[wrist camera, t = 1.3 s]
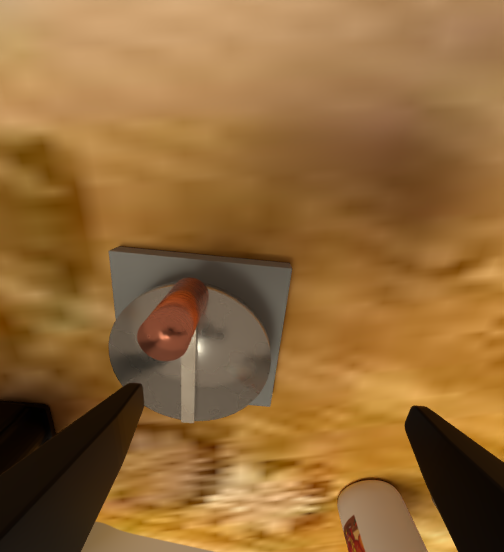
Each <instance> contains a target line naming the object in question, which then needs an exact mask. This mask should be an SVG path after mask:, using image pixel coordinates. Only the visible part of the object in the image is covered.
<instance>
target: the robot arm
mask: <svg viewBox="0 0 504 552" xmlns="http://www.w3.org/2000/svg"><path fill="white" fill-rule="evenodd" d="M143 407H144V394H143V385H142V384H141V383H132V382H130V383H128V384H126V385H125V386H123V387H122V388H120V389H119V390H118V391H116V392H115V393H114V394H112V395H111V396H109V397H108V398H107V399H105V400H104V401H102V402H101V403H100V404H98V405H97V406H95V407H94V408H93V409H91V410H90V411H89V412H87V413H86V414H84V415H83V416H82V417H80V418H79V419H77V420H76V421H75V422H73V423H72V424H70V425H69V426H68V427H66V428H65V429H64V430H62V431H61V432H59V433H58V434H57V435H56V434H55V430H54V426H53V422H52V417H51V413H50V409H49V407H48V406H47V405H44V404H32V403H20V402H9V401H0V552H81V550H82V548H83V546H84V544H85V542H86V540H87V537H88V535H89V533H90V531H91V529H92V527H93V525H94V523H95V521H96V519H97V517H98V514H99V512H100V510H101V508H102V506H103V504H104V502H105V500H106V498H107V496H108V493H109V491H110V489H111V487H112V485H113V483H114V481H115V479H116V477H117V475H118V472H119V470H120V468H121V466H122V464H123V462H124V459H125V457H126V454H127V451H128V449H129V446H130V443H131V441H132V438H133V435H134V432H135V430H136V427H137V424H138V422H139V419H140V416H141V413H142V411H143ZM405 431H406V434H407V436H408V439H409V441H410V444H411V447H412V449H413V452H414V454H415V457H416V460H417V462H418V465H419V467H420V470H421V473H422V475H423V478H424V480H425V482H426V485H427V487H428V489H429V491H430V494H431V496H432V498H433V500H434V502H435V504H436V506H437V508H438V510H439V512H440V515H441V517H442V519H443V521H444V523H445V525H446V527H447V529H448V531H449V533H450V535H451V538H452V540H453V542H454V544H455V546H456V548H457V550H458V552H504V462H502V461H501V460H500V459H498V458H497V457H495V456H494V455H493V454H491V453H490V452H488V451H487V450H486V449H484V448H483V447H482V446H480V445H479V444H477V443H476V442H475V441H473V440H472V439H471V438H469V437H468V436H466V435H465V434H464V433H462V432H461V431H459V430H458V429H457V428H455V427H454V426H453V425H451V424H450V423H448V422H447V421H446V420H444V419H443V418H442V417H440V416H439V415H437V414H436V413H435V412H433V411H432V410H430V409H429V408H427V407H425V406H412V407H411V409H410V411H409V414H408V416H407V419H406V421H405Z"/></svg>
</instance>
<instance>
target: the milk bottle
mask: <svg viewBox="0 0 504 552" xmlns="http://www.w3.org/2000/svg"><path fill="white" fill-rule="evenodd" d="M338 511H339V515H340V519H341V523H342V527H343V531H344V535H345V539H346V543H347V547H348V551H349V552H428V551H427V549H426V547H425V545H424V542H423V540H422V538H421V536H420V534H419V532H418V530H417V528H416V526H415V523H414V521H413V519H412V517H411V515H410V513H409V511H408V509H407V507H406V505H405V503H404V501H403V499H402V497H401V495H400V493H399V492H398V491H397V490H396V488H395V487H394V486H392V485H391V484H389V483H387V482H384V481H380V480H365V481H360V482H356V483H354V484H352V485H350V486H348V487H346V488H345V489H344V490H343V491H342V492H341V494H340V495H339V498H338Z"/></svg>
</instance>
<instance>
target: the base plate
mask: <svg viewBox="0 0 504 552" xmlns="http://www.w3.org/2000/svg"><path fill="white" fill-rule="evenodd" d="M109 258H110V268H111V278H112V287H113V297H114V307H115V316H116V319H117V318H118V316H119V315H120V314H121V312H122V311H123V310H124V309H125V308H126V307H127V306H128V305H129V304H130V303H131V302H132V301H133V300H134V299H135V298H137V297H138V296H140V295H141V294H142V293H144V292H146V291H147V290H149V289H151V288H153V287H156V286H159V285H162V284H166V283H170V282H178V281H179V280H181V279H183V278H187V277H191V278H196V279H198V280H200V281H201V282H203V283H207V284H211V285H214V286H217V287H220V288H222V289H225V290H227V291H229V292H231V293H232V294H234V295H236V296H237V297H239V298H240V299H242V300H243V301H244V302H246V303H247V304H248V305H249V306H250V307H251V308H252V309H253V310H254V312H255V313H256V314H257V315H258V317H259V318H260V320H261V322H262V323H263V325H264V327H265V330H266V332H267V335H268V339H269V343H270V354H271V367H270V372H269V376H268V379H267V381H266V384H265V386H264V387H263V389H262V391H261V392H260V393H259V395H258V396H257V397H256V398H255V399H254V400H253V401H252V402H251V403H250V404H249V405H257V406H269V407H270V404H271V398H272V392H273V386H274V379H275V373H276V367H277V361H278V354H279V348H280V342H281V336H282V329H283V323H284V317H285V311H286V304H287V298H288V292H289V286H290V279H291V273H292V267H291V265H290V263H284V262H274V261H264V260H254V259H243V258H233V257H223V256H212V255H202V254H192V253H181V252H171V251H161V250H151V249H140V248H130V247H120V246H119V247H117V248H114V249H112V250H110V251H109Z"/></svg>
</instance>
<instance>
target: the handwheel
mask: <svg viewBox="0 0 504 552" xmlns="http://www.w3.org/2000/svg"><path fill="white" fill-rule="evenodd" d="M109 356H110V361H111V365H112V368H113V370H114V373H115V374H116V376H117V378H118V380H119V381H120V383H121V384H122V386H125V385H126V384H128V383H130V382H132V383H141V384H142V385H143V394H144V406H146V407H148V408H149V409H151V410H153V411H155V412H158V413H160V414H162V415H165V416H168V417H172V418H176V419H180V420H181V422H184V423H194V421H207V420H214V419H219V418H223V417H226V416H229V415H231V414H234V413H236V412H238V411H240V410H241V409H243V408H244V407H246V406H247V405H249V404H250V403H251V402H252V401H253V400H254V399H255V398H256V397H257V396H258V395H259V393H260V392H261V391H262V389H263V387H264V386H265V384H266V381H267V379H268V376H269V372H270V367H271V354H270V343H269V339H268V335H267V332H266V330H265V327H264V325H263V323H262V322H261V320H260V318H259V317H258V315H257V314H256V313H255V312H254V310H253V309H252V308H251V307H250V306H249V305H248V304H247V303H246V302H244V301H243V300H242V299H240V298H239V297H237V296H236V295H234V294H232V293H231V292H229V291H227V290H225V289H222V288H220V287H217V286H214V285H211V284H207V283H203V282H201V281H200V280H198V279H196V278H191V277H187V278H183V279H181V280H179V281H178V282H170V283H166V284H162V285H159V286H156V287H153V288H151V289H149V290H147V291H146V292H144V293H142V294H141V295H140V296H138V297H137V298H135V299H134V300H133V301H132V302H131V303H130V304H129V305H128V306H127V307H126V308H125V309H124V310H123V311H122V312H121V314H120V315H119V316H118V318H117V319H116V321H115V323H114V325H113V327H112V330H111V334H110V338H109Z"/></svg>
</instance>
